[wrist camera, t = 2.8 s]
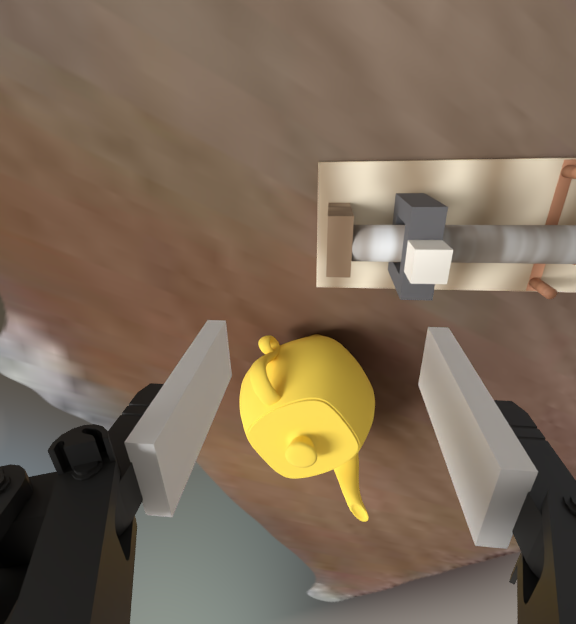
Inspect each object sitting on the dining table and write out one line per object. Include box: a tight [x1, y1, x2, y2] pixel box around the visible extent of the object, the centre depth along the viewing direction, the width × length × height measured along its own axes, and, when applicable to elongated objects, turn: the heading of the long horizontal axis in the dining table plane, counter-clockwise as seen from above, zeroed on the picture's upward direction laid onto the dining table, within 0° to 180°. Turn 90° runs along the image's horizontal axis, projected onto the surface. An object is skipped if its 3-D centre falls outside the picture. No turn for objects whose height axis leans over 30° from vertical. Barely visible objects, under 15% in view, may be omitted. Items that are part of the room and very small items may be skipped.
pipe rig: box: [317, 157, 576, 299], centre depth 30 cm, size 29×12×8 cm, turn 91°
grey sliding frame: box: [388, 193, 453, 300], centre depth 28 cm, size 2×7×10 cm, turn 1°
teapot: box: [240, 334, 375, 522], centre depth 38 cm, size 14×20×13 cm
